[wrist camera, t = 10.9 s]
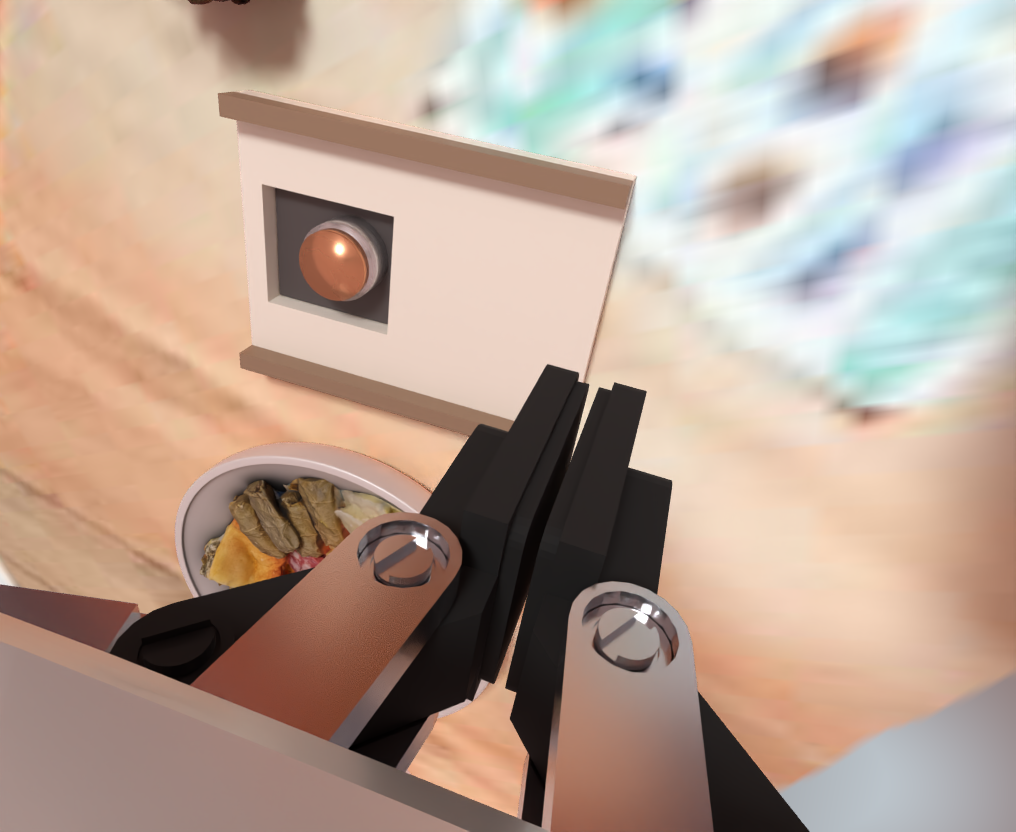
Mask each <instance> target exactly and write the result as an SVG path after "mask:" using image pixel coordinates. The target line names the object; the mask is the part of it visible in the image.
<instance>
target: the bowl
mask: <svg viewBox="0 0 1016 832" xmlns="http://www.w3.org/2000/svg"><path fill="white" fill-rule="evenodd" d="M431 495H432V494H431V493H430V492H429V491H428V490H426V489H425V488H424V487H422V486H421V485H420V484H418V483H417V482H415V481H414V480H412V479H411V478H409V477H408V476H406V475H404V474H403V473H401V472H399V471H397V470H396V469H394V468H392V467H390V466H388V465H386V464H384V463H382V462H380V461H377V460H375V459H373V458H370V457H368V456H365V455H362V454H360V453H357V452H354V451H350V450H347V449H343V448H339V447H335V446H330V445H324V444H317V443H307V442H282V443H273V444H266V445H261V446H256V447H253V448H250V449H246V450H243V451H241V452H238V453H236V454H234V455H231V456H229V457H227V458H226V459H224V460H222V461H220V462H219V463H217V464H216V465H214V466H213V467H211V468H210V469H209V470H208V471H206V472H205V473H204V474H203V475H202V476H200V477H199V478H198V479H197V480H196V481H195V482H194V483H193V484H192V485H191V487H190V488H189V489H188V491H187V492H186V494H185V495H184V497H183V499H182V501H181V504H180V506H179V509H178V513H177V517H176V523H175V544H176V551H177V556H178V560H179V564H180V567H181V570H182V573H183V575H184V578H185V580H186V583H187V585H188V587H189V589H190V591H191V593H192V595H193V596H194V598H196V597H200V596H204V595H207V594H211V593H215V592H219V591H223V590H227V589H231V588H235V587H239V586H243V585H247V584H251V583H255V582H259V581H262V580H266V579H270V578H274V577H278V576H282V575H286V574H290V573H294V572H298V571H302V570H306V569H310V568H314V567H316V566H317V565H318V564H319V563H320V562H321V561H322V560H323V559H324V558H325V557H326V556H327V555H328V554H329V553H331V552H332V551H333V550H334V549H335V548H336V547H337V546H338V545H339V544H340V543H341V542H342V541H343V540H344V539H345V538H346V537H347V536H349V535H350V534H351V533H352V532H353V531H354V530H355V529H356V528H357V527H359V526H360V525H362V524H363V523H365V522H366V521H367V520H369V519H372V518H375V517H377V516H380V515H383V514H388V513H397V512H408V513H420V511H421V510H422V508H423V507H424V505H425V504H426V502H427V501H428V499H429V498H430V496H431ZM488 683H489V682H487V681H484V680H481V682H480V684H479V687H478V689H477V692H476V694H475V697H474V699H473V701H474V700H475V699H476V698H477V697H478V696H479V695H480V694H481V693H482V692H483V691H484V689H485V688H486V686H487V685H488ZM473 701H470V700H467V699H466V700H465V702H463V703H460V704H458V705H455V706H453V707H450V708H447V709H445V710H442V711H440V712H439V715H438V717H437V718H441V717H444V716H447V715H450V714H452V713H455V712H457V711H459V710H461V709H462V708H464V707H466V706H467V705H469V704H470V703H471V702H473Z"/></svg>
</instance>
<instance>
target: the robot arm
mask: <svg viewBox="0 0 1016 832" xmlns="http://www.w3.org/2000/svg"><path fill="white" fill-rule="evenodd" d="M578 379H579V372H575V371H571V370H568V369H564V368H561V367H557V366H553V365H550V364H547V365H546V367H545V368H544V370H543V372H542V374H541V375H540V377H539V379H538V381H537V382H536V384H535V386H534V388H533V389H532V391H531V393H530V395H529V396H528V398H527V400H526V402H525V403H524V405H523V407H522V409H521V410H520V412H519V414H518V416H517V417H516V419H515V421H514V423H513V424H512V426H511V428H510V430H509V431H505V430H501V429H498V428H495V427H491V426H488V425H485V424H479V425H478V426H477V427H476V428H475V430H474V431H473V433H472V434H471V436H470V437H469V439H468V440H467V442H466V443H465V445H464V446H463V448H462V449H461V451H460V452H459V454H458V455H457V457H456V458H455V460H454V461H453V463H452V464H451V466H450V467H449V469H448V471H447V472H446V474H445V475H444V477H443V478H442V480H441V481H440V483H439V484H438V486H437V487H436V489H435V490H434V492H433V493H432V495H431V496H430V498H429V499H428V501H427V502H426V504H425V505H424V507H423V508H422V510H421V511H420V513H408V512H397V513H388V514H383V515H380V516H377V517H375V518H372V519H369V520H367V521H366V522H365V523H363V524H362V525H360V526H359V527H357V528H356V529H355V530H354V531H353V532H352V533H351V534H350V535H349V536H347V537H346V538H345V539H344V540H343V541H342V542H341V543H340V544H339V545H338V546H337V547H336V548H335V549H334V550H333V551H332V552H331V553H329V554H328V555H327V556H326V557H325V558H324V559H323V560H322V561H321V562H320V563H319V564H318V565H317V566H316V567H314V568H310V569H306V570H302V571H298V572H294V573H290V574H286V575H282V576H278V577H274V578H270V579H266V580H262V581H259V582H255V583H251V584H247V585H243V586H239V587H235V588H231V589H227V590H223V591H219V592H215V593H211V594H207V595H204V596H200V597H196V598H192V599H188V600H184V601H180V602H176V603H173V604H170V605H167V606H165V607H162V608H159V609H156V610H154V611H152V612H150V613H149V614H143V613H140V612H139V608H138V604H135V603H128V602H121V601H114V600H107V599H100V598H93V597H85V596H78V595H71V594H64V593H57V592H50V591H43V590H36V589H29V588H22V587H15V586H8V585H1V584H0V832H809V830H808V829H807V828H806V827H805V825H804V824H803V823H802V822H801V820H800V819H799V818H798V817H797V815H796V814H795V813H794V812H793V810H792V809H791V808H790V806H789V805H788V804H787V803H786V802H785V800H784V799H783V798H782V796H781V795H780V794H779V793H778V791H777V790H776V789H775V788H774V786H773V785H772V784H771V783H770V781H769V780H768V779H767V777H766V776H765V775H764V774H763V772H762V771H761V770H760V769H759V767H758V766H757V765H756V764H755V762H754V761H753V760H752V759H751V757H750V756H749V755H748V754H747V752H746V751H745V750H744V749H743V747H742V746H741V745H740V743H739V742H738V741H737V740H736V738H735V737H734V736H733V735H732V733H731V732H730V731H729V730H728V728H727V727H726V726H725V725H724V723H723V722H722V721H721V720H720V718H719V717H718V716H717V715H716V713H715V712H714V711H713V709H712V708H711V707H710V706H709V704H708V703H707V702H706V701H705V699H704V698H703V697H702V696H701V694H700V693H699V692H698V690H697V681H696V672H695V664H694V655H693V646H692V641H691V637H690V634H689V631H688V627H687V625H686V624H685V622H684V621H683V619H682V618H681V616H680V615H679V613H678V612H677V611H676V610H675V609H674V608H673V607H672V606H671V605H670V604H669V603H668V602H667V601H666V600H665V599H663V598H662V597H660V596H658V595H657V591H658V584H659V577H660V570H661V562H662V555H663V548H664V541H665V534H666V526H667V519H668V512H669V505H670V498H671V491H672V480H668V479H665V478H662V477H658V476H655V475H652V474H648V473H645V472H642V471H638V470H635V469H632V468H628V465H629V461H630V457H631V453H632V449H633V445H634V441H635V437H636V433H637V429H638V425H639V421H640V417H641V413H642V409H643V405H644V401H645V397H646V392H647V391H644V390H640V389H636V388H633V387H629V386H626V385H622V384H618V383H615V382H614V385H613V388H612V391H611V390H608V389H604V388H600V387H599V389H598V391H597V394H596V397H595V399H594V402H593V404H592V407H591V410H590V412H589V415H588V417H587V420H586V423H585V425H584V428H583V430H582V433H581V436H580V438H579V441H578V443H577V446H576V449H575V451H574V454H573V456H572V453H573V449H574V445H575V441H576V437H577V433H578V429H579V425H580V421H581V417H582V413H583V409H584V405H585V401H586V397H587V393H588V389H589V384H586V383H582V382H579V381H578ZM571 457H572V459H571ZM570 461H571V462H570ZM526 598H527V599H526ZM525 600H526V604H525V608H524V612H523V616H522V620H521V624H520V628H519V633H518V637H517V641H516V645H515V649H514V653H513V657H512V661H511V666H510V670H509V674H508V678H507V682H506V687H505V688H506V689H508V690H511V691H514V692H516V697H515V701H514V705H513V709H512V713H511V716H510V720H511V722H512V723H513V725H514V727H515V729H516V731H517V733H518V735H519V737H520V739H521V740H522V742H523V744H524V746H525V748H526V750H527V752H528V753H527V756H526V760H525V763H524V769H523V776H522V784H521V792H520V800H519V807H518V815H517V818H516V817H514V816H511V815H509V814H506V813H504V812H501V811H499V810H496V809H494V808H492V807H489V806H487V805H484V804H482V803H479V802H477V801H474V800H472V799H469V798H467V797H465V796H462V795H460V794H457V793H455V792H452V791H450V790H447V789H445V788H442V787H440V786H437V785H435V784H433V783H430V782H428V781H425V780H423V779H420V778H418V777H415V776H413V775H410V774H408V773H405V772H406V770H407V769H408V767H409V766H410V764H411V762H412V761H413V759H414V758H415V756H416V754H417V753H418V751H419V750H420V748H421V747H422V745H423V743H424V742H425V740H426V739H427V737H428V735H429V734H430V732H431V731H432V729H433V727H434V725H435V722H436V720H437V717H438V715H439V712H440V711H442V710H445V709H447V708H450V707H453V706H455V705H458V704H460V703H463V702H465V700H466V699H467V700H470V701H473V699H474V697H475V694H476V692H477V689H478V687H479V684H480V682H481V680H484V681H487V682H489V683H492V684H494V683H495V681H496V678H497V676H498V673H499V670H500V668H501V665H502V662H503V660H504V657H505V654H506V652H507V649H508V646H509V643H510V641H511V638H512V635H513V633H514V630H515V627H516V625H517V622H518V619H519V616H520V614H521V611H522V608H523V606H524V603H525Z"/></svg>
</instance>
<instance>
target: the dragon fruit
mask: <svg viewBox="0 0 1016 832" xmlns="http://www.w3.org/2000/svg"><path fill="white" fill-rule="evenodd" d="M188 1H189V2H190V3H191V4H206V3H210V2H211V1H213V0H188ZM215 1H219V2H220V1H222V2H224V1H228V0H215ZM231 1H232V2H234V3H235V4H238V5H241V4H246V3H248V2H249V1H250V0H231Z"/></svg>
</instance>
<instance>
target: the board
mask: <svg viewBox="0 0 1016 832" xmlns="http://www.w3.org/2000/svg"><path fill="white" fill-rule="evenodd" d="M218 100H219V112H220V116H221V117H225V118H230V119H234V120H237V135H238V149H239V163H240V177H241V192H242V206H243V220H244V235H245V249H246V263H247V278H248V292H249V306H250V320H251V335H252V345H251V346H250V347H248V348H247V349H245V350H244V351H242V352H241V353H239V354H240V366H241V368H243V369H246V370H249V371H253V372H256V373H260V374H263V375H266V376H270V377H273V378H276V379H280V380H283V381H287V382H290V383H293V384H297V385H300V386H303V387H307V388H310V389H313V390H317V391H320V392H324V393H327V394H330V395H334V396H337V397H340V398H344V399H347V400H350V401H354V402H357V403H361V404H364V405H367V406H371V407H374V408H377V409H381V410H384V411H388V412H391V413H394V414H398V415H401V416H404V417H408V418H411V419H414V420H418V421H421V422H425V423H428V424H431V425H435V426H438V427H441V428H445V429H448V430H451V431H455V432H458V433H462V434H465V435H468V436H471V434H472V433H473V431H474V430H475V428H476V427H477V426H478V425H479V424H485V425H488V426H491V427H495V428H498V429H501V430H505V431H509V430H510V428H511V426H512V424H513V423H514V421H515V419H516V417H517V416H518V414H519V412H520V410H521V409H522V407H523V405H524V403H525V402H526V400H527V398H528V396H529V395H530V393H531V391H532V389H533V388H534V386H535V384H536V382H537V381H538V379H539V377H540V375H541V374H542V372H543V370H544V368H545V367H546V365H547V364H550V365H553V366H557V367H561V368H564V369H568V370H571V371H575V372H579V379H578V381H579V382H582V383H584V381H585V377H586V373H587V369H588V365H589V361H590V357H591V353H592V349H593V345H594V341H595V337H596V333H597V330H598V326H599V322H600V318H601V314H602V310H603V306H604V302H605V298H606V294H607V290H608V286H609V282H610V278H611V274H612V270H613V266H614V262H615V259H616V255H617V251H618V247H619V243H620V239H621V235H622V231H623V227H624V223H625V219H626V215H627V211H628V207H629V203H630V199H631V195H632V191H633V188H634V184H635V180H636V176H635V175H631V174H626V173H622V172H617V171H613V170H608V169H604V168H599V167H595V166H590V165H586V164H581V163H577V162H572V161H568V160H563V159H559V158H554V157H550V156H545V155H541V154H536V153H532V152H527V151H523V150H518V149H514V148H509V147H505V146H500V145H496V144H491V143H487V142H482V141H478V140H473V139H469V138H464V137H460V136H455V135H451V134H446V133H442V132H437V131H433V130H428V129H424V128H419V127H415V126H410V125H406V124H401V123H397V122H392V121H388V120H383V119H379V118H374V117H370V116H365V115H361V114H356V113H352V112H347V111H343V110H338V109H334V108H329V107H325V106H320V105H316V104H311V103H307V102H302V101H298V100H293V99H289V98H284V97H280V96H275V95H271V94H266V93H262V92H257V91H253V90H245V91H236V92H227V93H218ZM342 215H352V216H356V217H359V218H361V219H363V220H365V221H367V222H368V223H370V224H371V225H372V226H373V227H374V228H375V229H376V230H377V231H378V232H379V234H380V235H381V237H382V239H383V240H384V243H385V245H386V248H387V251H388V260H389V262H388V269H387V272H386V275H385V277H384V279H383V280H382V281H381V282H380V283H379V284H378V285H377V286H375V287H374V288H373V289H371V290H370V291H368V292H367V293H366V294H364V295H363V296H361V297H360V298H358V299H356V300H352V301H334V300H330V299H327V298H325V297H323V296H321V295H319V294H318V293H316V292H315V291H314V290H313V289H312V288H311V287H310V286H309V284H308V283H307V282H306V280H305V278H304V276H303V274H302V272H301V269H300V264H299V252H300V248H301V245H302V243H303V241H304V239H305V237H306V235H307V234H308V232H309V231H310V230H311V229H313V228H314V227H316V226H318V225H320V224H322V223H324V222H326V221H328V220H331V219H333V218H335V217H338V216H342Z"/></svg>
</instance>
